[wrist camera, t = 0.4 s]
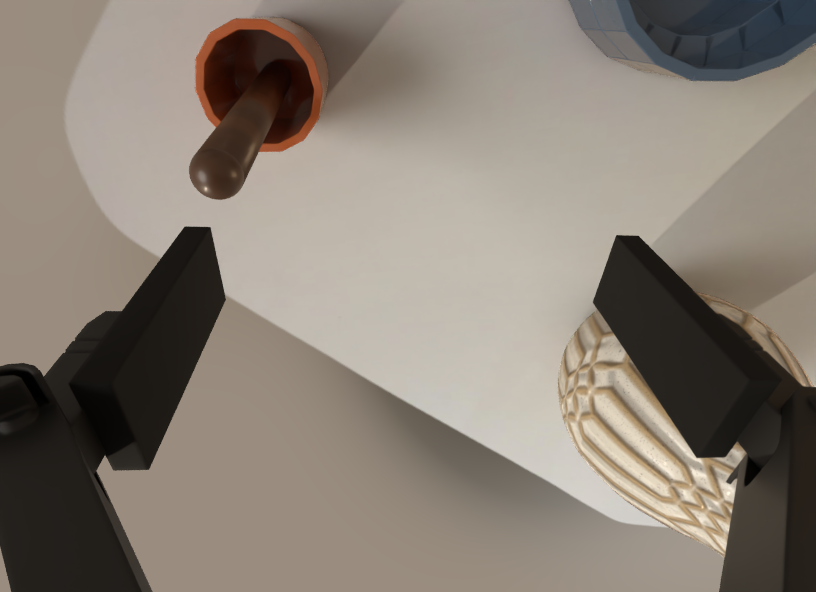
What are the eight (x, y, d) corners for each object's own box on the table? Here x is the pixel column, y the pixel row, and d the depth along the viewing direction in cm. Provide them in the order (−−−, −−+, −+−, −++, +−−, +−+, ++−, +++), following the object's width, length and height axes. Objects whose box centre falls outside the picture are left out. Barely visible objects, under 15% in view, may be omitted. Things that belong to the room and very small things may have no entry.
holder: (220, 16, 25) (180, 17, 19) (325, 18, 26) (317, 19, 20) (238, 123, 28) (208, 152, 22) (332, 122, 29) (327, 151, 23)
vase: (718, 365, 44) (950, 589, 27) (558, 425, 46) (679, 668, 29) (705, 225, 35) (1028, 421, 18) (511, 307, 38) (641, 549, 21)
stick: (262, 58, 26) (176, 157, 13) (291, 58, 26) (233, 156, 13) (266, 89, 27) (189, 208, 14) (294, 89, 27) (243, 207, 14)
